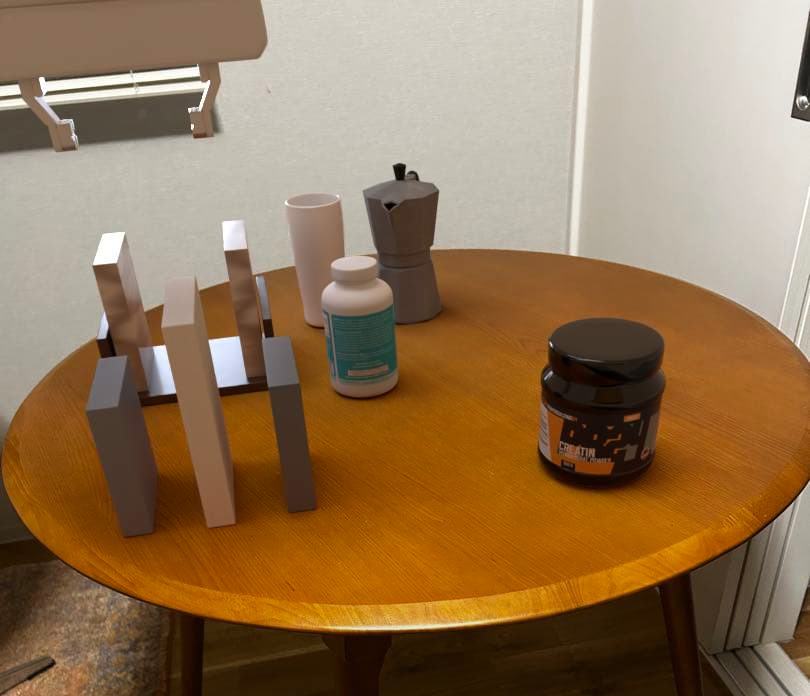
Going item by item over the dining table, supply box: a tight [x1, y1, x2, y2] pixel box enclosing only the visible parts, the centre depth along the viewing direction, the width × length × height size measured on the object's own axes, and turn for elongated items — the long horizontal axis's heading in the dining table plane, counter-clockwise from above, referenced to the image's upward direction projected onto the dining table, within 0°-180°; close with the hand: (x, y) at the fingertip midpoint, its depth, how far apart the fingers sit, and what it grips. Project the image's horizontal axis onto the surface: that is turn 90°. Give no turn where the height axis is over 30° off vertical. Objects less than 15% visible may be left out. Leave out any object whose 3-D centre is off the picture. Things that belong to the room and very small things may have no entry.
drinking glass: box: [284, 191, 346, 328], centre depth 104 cm, size 7×7×15 cm
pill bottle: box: [321, 255, 399, 398], centre depth 89 cm, size 8×7×14 cm
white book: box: [160, 274, 237, 529], centre depth 71 cm, size 2×11×18 cm, turn 11°
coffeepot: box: [362, 162, 443, 325], centre depth 105 cm, size 15×9×18 cm, turn 168°
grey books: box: [84, 334, 318, 538], centre depth 73 cm, size 16×10×12 cm, turn 101°
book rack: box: [91, 219, 275, 407], centre depth 93 cm, size 18×14×15 cm
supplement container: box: [537, 317, 667, 488], centre depth 74 cm, size 10×10×12 cm
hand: (136, 143), depth 60 cm, fingers open, 8 cm apart
